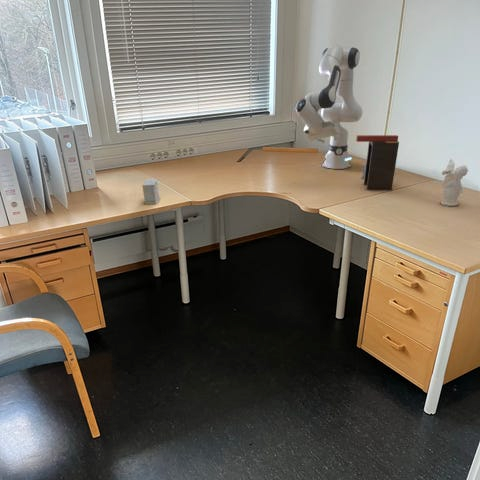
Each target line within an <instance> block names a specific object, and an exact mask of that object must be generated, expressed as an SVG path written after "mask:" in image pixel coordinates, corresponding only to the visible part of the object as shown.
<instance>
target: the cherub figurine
mask: <svg viewBox="0 0 480 480" xmlns="http://www.w3.org/2000/svg"><path fill="white" fill-rule="evenodd" d="M455 166H456V165H455V162H454V160H453V159H452V158H450V159H449V161H448V164H447V166H446V167H445V169H444V170H442V171H441V174H442V175H443V176H444V179H443V181H442V185H441V186H442V188H444V189H443V193H442V196H443V197H442V199H441V201H440V204H441V205H442V206H445V207H446V206H447V207H456V206H458V205H459V202H458V200H459V199H458V198H459V197H460V194H462V193H463V192H464V191H463V185H462V181H461V180H462V179H463V177H466V175H467V174H468V172H469V169H468V167H467V166H466V165H465V164H463V165H459V166H457V167H456V168H455Z"/></svg>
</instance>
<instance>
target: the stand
mask: <svg viewBox="0 0 480 480" xmlns="http://www.w3.org/2000/svg"><path fill="white" fill-rule="evenodd" d="M399 145H400V142H399V141H398V142H368V146H367V155H366V163H365V164H366V170H365V178H364V179H363V185H364V186H366V190H367V191H392V190H393V184H394V177H395V171H396V165H397V159H398V152H399Z"/></svg>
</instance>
